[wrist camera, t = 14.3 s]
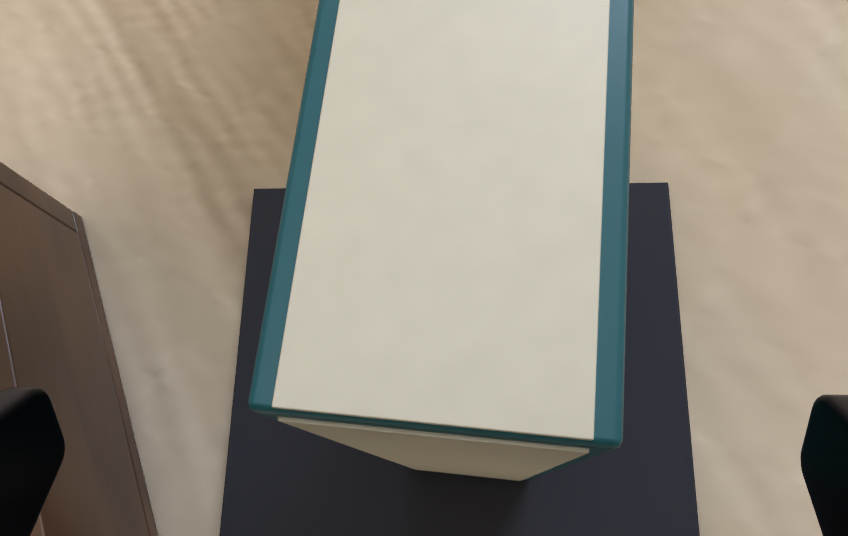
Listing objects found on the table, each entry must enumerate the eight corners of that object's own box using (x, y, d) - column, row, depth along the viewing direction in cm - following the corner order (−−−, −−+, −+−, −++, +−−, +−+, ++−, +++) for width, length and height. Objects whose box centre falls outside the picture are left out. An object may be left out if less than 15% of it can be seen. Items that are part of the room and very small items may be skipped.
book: (531, 482, 18) (629, 455, 6) (404, 468, 18) (238, 415, 6) (546, 221, 20) (643, -213, 8) (432, 213, 21) (352, -213, 8)
